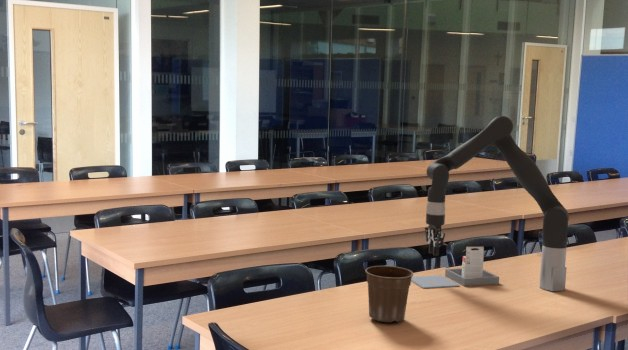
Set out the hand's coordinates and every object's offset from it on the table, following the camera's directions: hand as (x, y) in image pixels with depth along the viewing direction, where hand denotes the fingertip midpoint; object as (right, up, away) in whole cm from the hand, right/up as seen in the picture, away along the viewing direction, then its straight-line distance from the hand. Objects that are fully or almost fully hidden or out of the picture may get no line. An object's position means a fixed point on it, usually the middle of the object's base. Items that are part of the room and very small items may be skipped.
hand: (433, 254), depth 288 cm
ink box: (+17, -12, +7) cm, 22 cm away
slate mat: (0, -12, +1) cm, 12 cm away
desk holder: (+17, -11, +7) cm, 21 cm away
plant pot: (-24, -17, -45) cm, 54 cm away
